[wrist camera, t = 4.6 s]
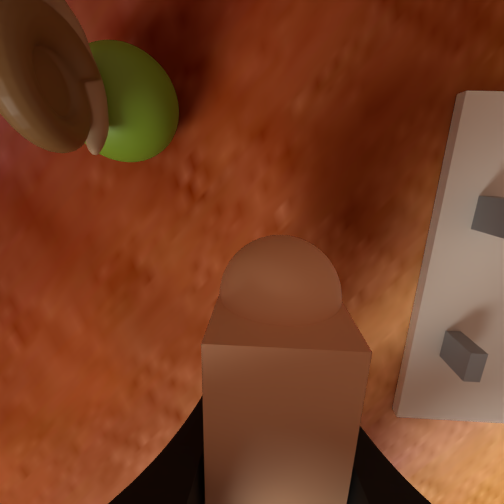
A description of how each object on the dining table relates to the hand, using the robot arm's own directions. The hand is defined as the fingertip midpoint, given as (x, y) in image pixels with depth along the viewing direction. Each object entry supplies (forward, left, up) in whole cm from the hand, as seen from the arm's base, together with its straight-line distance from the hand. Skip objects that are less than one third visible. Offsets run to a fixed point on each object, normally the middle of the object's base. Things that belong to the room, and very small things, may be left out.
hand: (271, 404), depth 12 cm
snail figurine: (+13, +8, -9) cm, 18 cm away
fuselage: (+1, 0, -2) cm, 2 cm away
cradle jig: (+3, -16, -8) cm, 18 cm away
